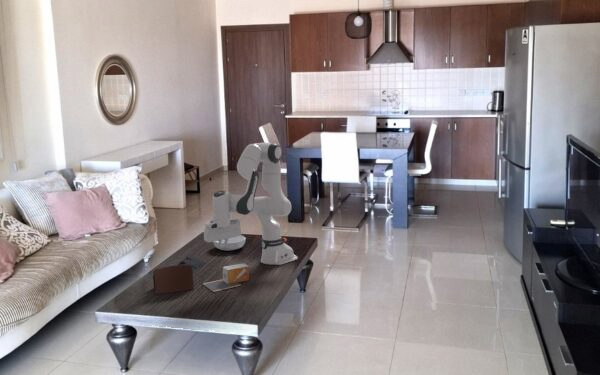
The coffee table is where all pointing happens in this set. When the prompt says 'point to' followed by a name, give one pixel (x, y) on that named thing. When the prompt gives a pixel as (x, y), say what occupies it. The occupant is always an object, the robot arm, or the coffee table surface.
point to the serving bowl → (231, 243)
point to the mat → (220, 285)
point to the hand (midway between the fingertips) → (223, 247)
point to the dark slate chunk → (192, 263)
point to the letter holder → (173, 279)
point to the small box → (235, 273)
